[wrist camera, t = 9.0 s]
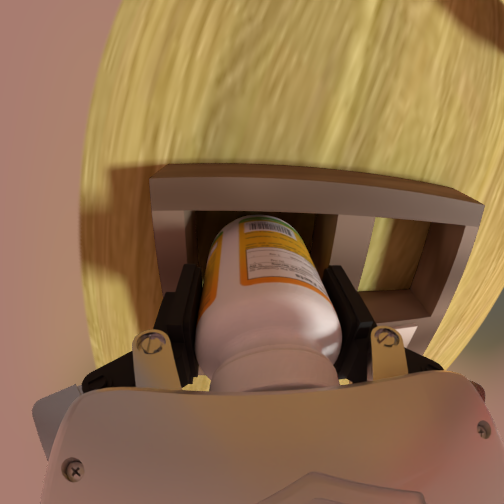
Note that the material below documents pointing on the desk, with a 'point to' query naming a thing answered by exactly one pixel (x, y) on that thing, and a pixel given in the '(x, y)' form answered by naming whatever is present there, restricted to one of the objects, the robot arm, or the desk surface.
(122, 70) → the desk surface
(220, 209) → the socket block
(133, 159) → the desk surface
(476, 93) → the desk surface
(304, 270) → the supplement bottle
